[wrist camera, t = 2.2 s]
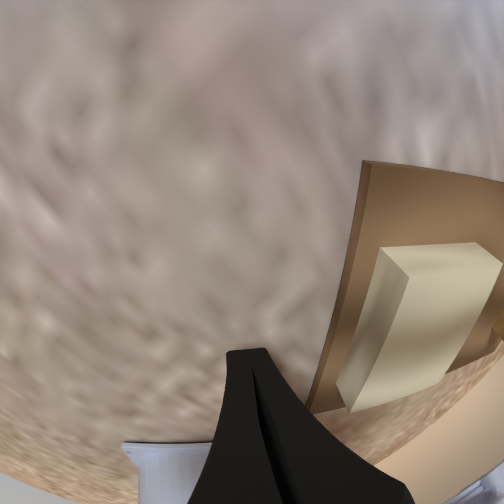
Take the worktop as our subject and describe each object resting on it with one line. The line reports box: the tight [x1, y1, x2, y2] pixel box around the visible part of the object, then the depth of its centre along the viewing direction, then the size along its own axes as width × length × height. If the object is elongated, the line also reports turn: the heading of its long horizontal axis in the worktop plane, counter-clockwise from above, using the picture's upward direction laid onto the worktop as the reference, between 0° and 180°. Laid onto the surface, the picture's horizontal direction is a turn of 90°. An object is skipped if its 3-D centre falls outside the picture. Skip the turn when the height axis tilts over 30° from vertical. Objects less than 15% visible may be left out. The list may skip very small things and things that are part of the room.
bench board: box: [305, 160, 504, 414], centre depth 14 cm, size 14×18×1 cm
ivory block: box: [336, 242, 503, 413], centre depth 12 cm, size 8×6×2 cm
